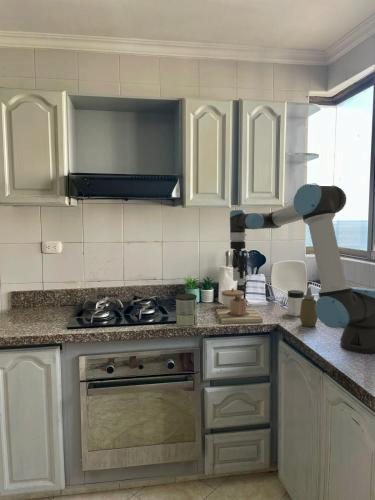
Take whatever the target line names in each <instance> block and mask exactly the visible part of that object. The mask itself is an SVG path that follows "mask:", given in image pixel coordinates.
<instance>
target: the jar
mask: <svg viewBox="0 0 375 500" xmlns="http://www.w3.org/2000/svg"><path fill="white" fill-rule="evenodd" d="M304 295H305V292H304V291H303V290H298V289H297V290H296V289H294V290H293V289H291V290H287V315H289V316H293V317H300V310H301V302H302V300H303V299H304Z"/></svg>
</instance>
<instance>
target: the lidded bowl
mask: <svg viewBox="0 0 375 500" xmlns="http://www.w3.org/2000/svg"><path fill="white" fill-rule="evenodd" d="M244 294H245V292H244V291H243V290H239V289H234V288H231V289H226V290H223V291H221V300H222V304H223V305H224V307H226V308H225V309H230V299H234V298H235V296H241V298H243V299H245V297H244Z"/></svg>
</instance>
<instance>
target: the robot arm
mask: <svg viewBox="0 0 375 500" xmlns="http://www.w3.org/2000/svg"><path fill="white" fill-rule="evenodd" d="M346 204H347V195H346V192H345V190H344V189H342V187H340V186H338V185H335V184H325V183H314V182H313V183H305V184H303V185H302V186H300V187H299V188H298V189H297V191H296V193H295V194H294V196H293V203H292V205H289V206H286V207H283V208H280V209H277V210H275V211H272V212H265V213H264V212H262V213H261V212H260V213H259V212H258V213H257V212H250V213H246V211H245V210H244V209H237V210H236V209H233V210H230V212H229V231H230V232H229V240H230V244H229V245H230V249H231V250H232V260H231V261H232V264H231V265H232V281H233V282H234V281H235V282H236V281H237V283H238V284H237V286H244V285H245V270H246V269H245V259H244V251H243V250H244V249H246V236H247V234H246V230H261V229H264V230H265V229H271V230H272V229H279V228H281V227H282V226H285V225H288V224H291V223H294V222H298V221H302V220H303V223H305V224H306V225H307V226H308V228H309V234H310V239H311V242H312V244H311V245H312V248H313V253H314V258H315V263H316V266H317V272H318V277H319V282H320V286H321V287H320V289H319V290H318V297H319V298H318V299H317V300H316V304H315V312H316V315H317V317H318V320H319V321H320V322H321V323H322V324H324V325H325V326H326V327H328V328H332V329H339V328H344V329H343V331H342V334H341V336H340V347H342V348H343V349H345V350H347V351H351V352H354V353H360V354H367V355H368V354H371V355H372V354H375V289H374V288H373V289H372V288H366V287H358V286H357V287H356V286H351V285H349V284H348V283H347V282H346V277H345V273H344V267H343V264H342V261H341V260H342V258H341V255H340V249H339V246H338V245H339V244H338V242H337V241H338V240H337V237H336V232H335V228H334V222H333V219H334V218H335V217H336V214H338V213H340V211H342V210H343V209H344V208H345V206H346Z"/></svg>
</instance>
